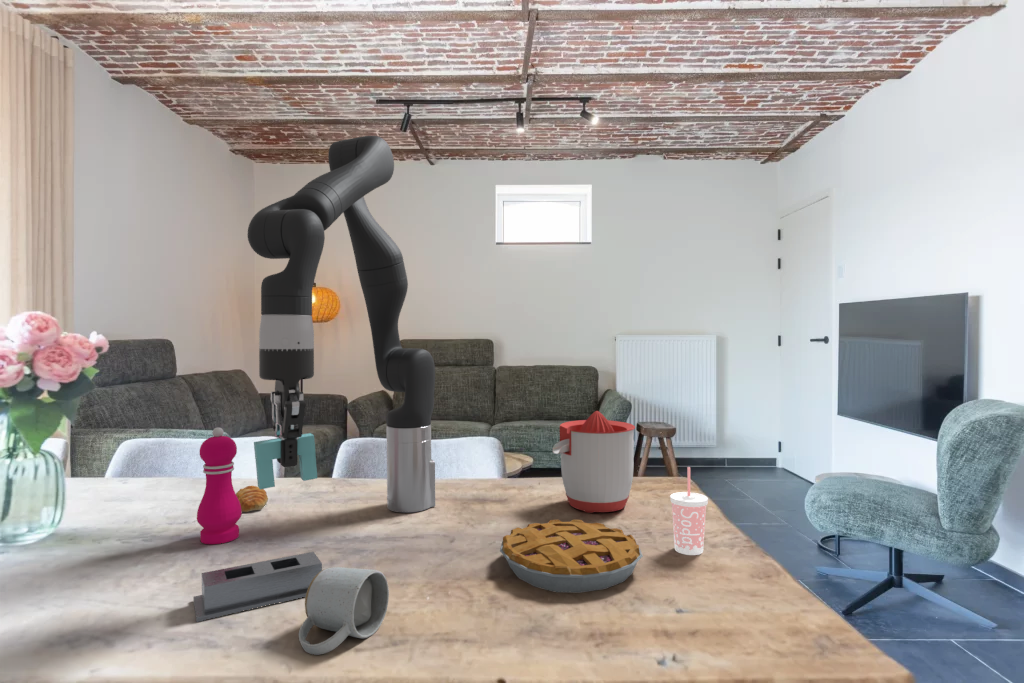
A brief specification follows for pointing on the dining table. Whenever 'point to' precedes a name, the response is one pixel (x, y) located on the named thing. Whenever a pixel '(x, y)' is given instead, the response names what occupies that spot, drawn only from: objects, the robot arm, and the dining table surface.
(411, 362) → the robot arm
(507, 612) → the dining table surface
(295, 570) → the grey hollow block
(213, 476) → the pepper mill
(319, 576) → the ceramic mug
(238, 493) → the pastry
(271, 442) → the clip
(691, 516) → the beverage cup
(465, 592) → the dining table surface
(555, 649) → the dining table surface
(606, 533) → the pie
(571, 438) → the citrus juicer
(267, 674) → the dining table surface
